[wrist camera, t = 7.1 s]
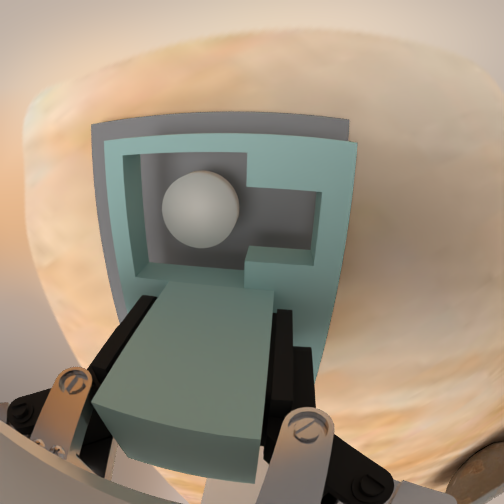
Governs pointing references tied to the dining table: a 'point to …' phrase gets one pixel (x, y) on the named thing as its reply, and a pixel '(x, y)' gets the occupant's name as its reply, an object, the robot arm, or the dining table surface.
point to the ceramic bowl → (479, 477)
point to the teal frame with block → (218, 307)
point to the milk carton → (235, 487)
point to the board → (253, 201)
